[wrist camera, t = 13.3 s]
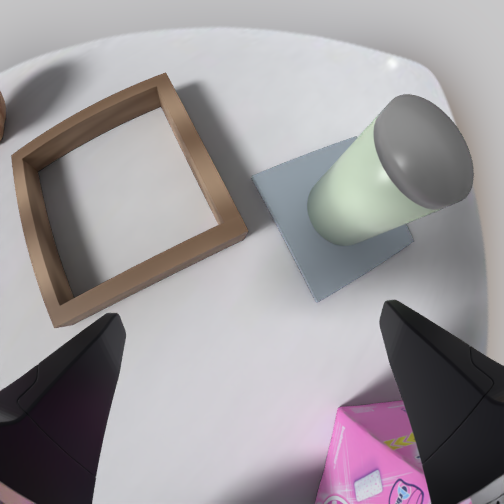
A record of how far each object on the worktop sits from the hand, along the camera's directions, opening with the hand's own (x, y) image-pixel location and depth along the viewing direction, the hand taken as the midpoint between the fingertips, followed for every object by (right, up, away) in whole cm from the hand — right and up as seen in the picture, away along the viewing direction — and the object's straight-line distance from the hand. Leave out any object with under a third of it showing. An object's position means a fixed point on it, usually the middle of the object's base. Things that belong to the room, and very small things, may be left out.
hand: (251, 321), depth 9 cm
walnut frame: (-11, +7, +12) cm, 18 cm away
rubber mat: (+7, +6, +15) cm, 17 cm away
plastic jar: (+7, +6, +14) cm, 17 cm away
